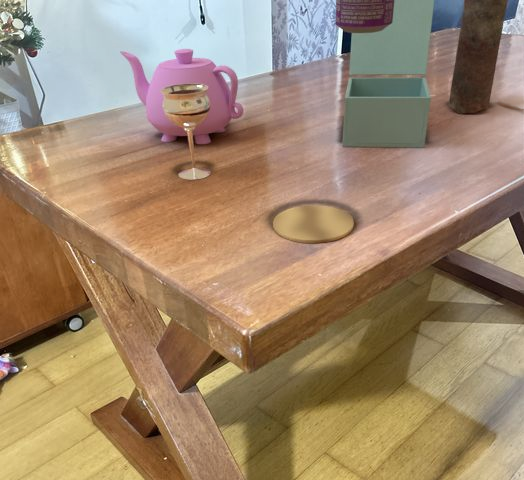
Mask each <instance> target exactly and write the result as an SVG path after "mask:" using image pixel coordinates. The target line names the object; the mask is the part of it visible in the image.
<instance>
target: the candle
mask: <svg viewBox="0 0 524 480" xmlns="http://www.w3.org/2000/svg"><path fill="white" fill-rule="evenodd" d="M508 1H509V0H463V9H462V13H461V14H462V15H461V22H460V29H459V36H458V40H457V48H456V55H455V61H454V66H453V74H452V80H451V87H450V94H449V100H448V106H449V107H450V108H451V109H452V110H453V111H454V112H455V113H458V114H462V115H464V114H468V113H469V114H471V113H472V114H474V113H475V114H476V113H477V112H479V111H482V110H487V109H488V108H489V105H490V102H491V96H492V92H493V91H492V90H493V84H494V79H495V72H496V68H497V67H496V66H497V61H498V55H499V50H500V44H501V39H502V35H503V28H504V22H505V19H506V18H505V17H506V12H507V7H508Z"/></svg>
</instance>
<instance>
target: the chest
mask: <svg viewBox="0 0 524 480" xmlns="http://www.w3.org/2000/svg"><path fill="white" fill-rule="evenodd" d="M431 101H432V95H431V92H430V89H429V84H428V81H427V78H426V76H400V77H399V76H394V77H393V76H392V77H391V76H390V77H389V76H386V77H385V76H383V77H381V76H380V77H375V76H373V77H371V76H370V77H369V76H368V77H365V76H364V77H362V76H361V77H348V82H347V87H346V91H345V96H344V106H343V107H344V109H343V110H344V111H343V128H342V129H343V130H342V147H353V148H355V147H357V148H414V149H415V148H419V149H420V148H423V149H424V148H425V144H426V139H427V138H426V136H427V130H428V124H429V123H428V122H429V115H430V109H431V108H430V107H431Z"/></svg>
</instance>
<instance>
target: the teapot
mask: <svg viewBox="0 0 524 480" xmlns="http://www.w3.org/2000/svg"><path fill="white" fill-rule="evenodd" d="M119 52H120V54H121V55H123V57H124V58H125V59H126V60H127V61H128V63H129V65H130V67H131V70H132V74H133V79H134V87H135V92H136V94H137V96H138V99H139V100H140V102H141V103H142V104H143V105H144V106H145V114H146V119H147V121H148V122H149V123H150V124H151V126H153V128H154V129H156V130H157V131H158V132H159V133H161V134H163V135H162V136H161V139H160V141H161V142H163V143H171V142H174V141H176V140H177V138H178V137H188V135H187V131H185V130H184V128H182V127H179V126H177V125H175V124H174V123H173V122H171V121H170V120H169V119H168V118H167V117H166V115H165V113H164V110H163V100H164V96H163V94H162V93H161V89H163V88H164V87H167V86H171V85H176V84H186V83H197V84H204V85H207V86H208V89H207V92H206V94H207V96H208V97H209V100H210V110H209V114H208V116H207V117H206V118H205V120H204V121H203V122H202V123H201V124H199V125H198V126H196V127H195V129H194V131H192V133H193V138H194V143H195V144H197V145H207V144H210V143H212V141H211V138H210V136H209V134H212V133H214V134H218V133H219V134H220V133H223V132H225V131H226V129H225V127H226V126H228V124H229V123H230V121H231V120H232V119H233V120H236V119H239V118H241V117H242V116H243V115H244V107H243V105H242V104H241V103H240V102H237V95H238V90H239V78H238V75H237V73H236V72H235V70H234V69H232V67H230V66H228V65H223V64H222V65H218V66H217V65H216V64H215V62H214V61H213V60H212V59H209V58H203V57H193V56H194V50H193V49H190V48H180V49H175V50H174V55H175V57H176V58H174V59H169V60H165V61H162V62H160V63H158V65H157V66H156V68H155V70H154V72H153V75H152V77H151V80H150V82H149V81H148V79H147V76H146V75H145V71H144V67H143V65H142V63H141V61H140V59H139V58H138V56H137V55H135V54H133V53H130V52H127V51H119ZM222 73H223V74H226V75H227V76H228V77H229V80H230V87H229V84H228V82H227V81H226V78H225V77H224V75H223V74H222ZM235 108H236V109H235ZM236 110H237V111H236Z"/></svg>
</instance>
